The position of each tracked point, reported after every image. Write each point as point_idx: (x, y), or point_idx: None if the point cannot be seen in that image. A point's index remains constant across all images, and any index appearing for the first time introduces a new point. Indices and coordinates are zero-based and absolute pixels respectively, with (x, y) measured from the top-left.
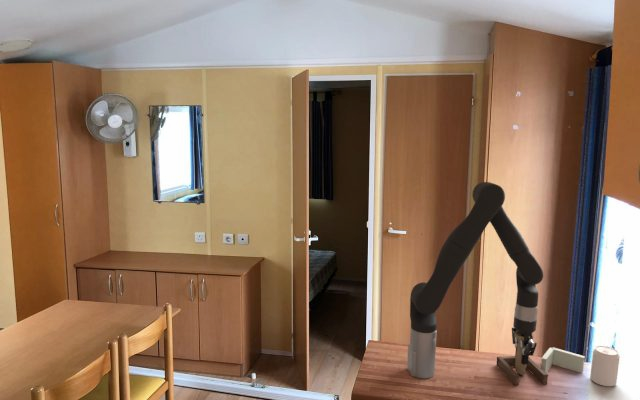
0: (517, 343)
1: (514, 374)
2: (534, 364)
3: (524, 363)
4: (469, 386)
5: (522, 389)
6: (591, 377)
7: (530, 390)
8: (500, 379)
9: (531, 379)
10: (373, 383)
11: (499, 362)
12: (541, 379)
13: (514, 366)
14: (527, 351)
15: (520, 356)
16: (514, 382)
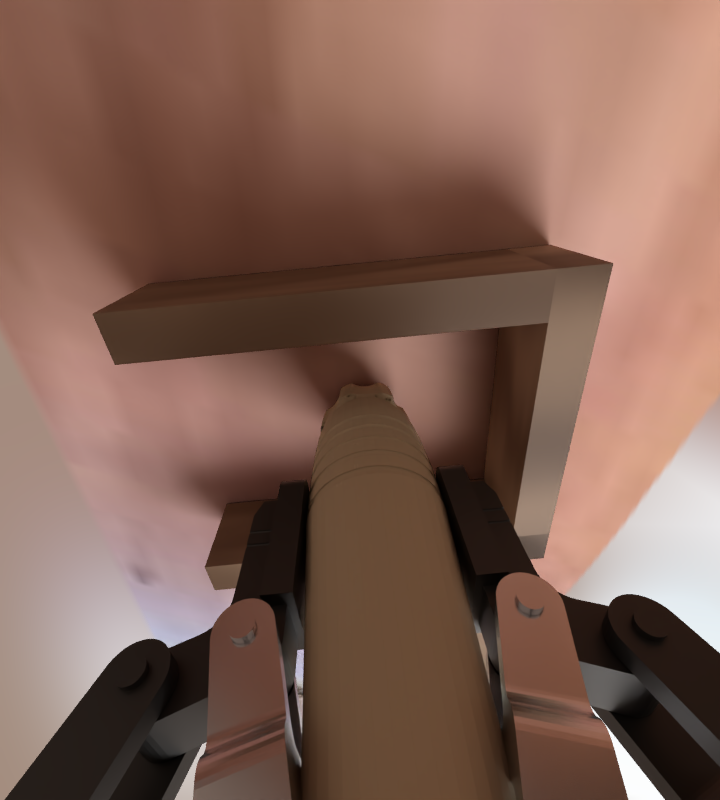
0: (505, 711)
1: (130, 318)
2: None
3: (264, 508)
4: None
5: (89, 332)
6: (301, 710)
7: (96, 392)
8: (247, 167)
9: (286, 457)
10: None
11: (513, 262)
12: (246, 518)
13: (492, 407)
14: (20, 795)
15: (317, 536)
16: (140, 290)
